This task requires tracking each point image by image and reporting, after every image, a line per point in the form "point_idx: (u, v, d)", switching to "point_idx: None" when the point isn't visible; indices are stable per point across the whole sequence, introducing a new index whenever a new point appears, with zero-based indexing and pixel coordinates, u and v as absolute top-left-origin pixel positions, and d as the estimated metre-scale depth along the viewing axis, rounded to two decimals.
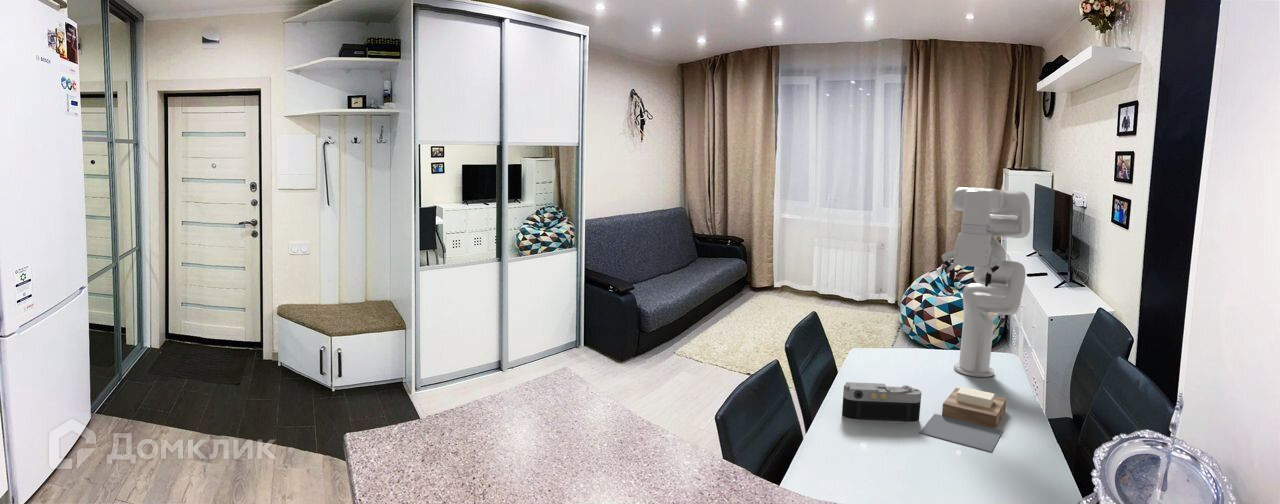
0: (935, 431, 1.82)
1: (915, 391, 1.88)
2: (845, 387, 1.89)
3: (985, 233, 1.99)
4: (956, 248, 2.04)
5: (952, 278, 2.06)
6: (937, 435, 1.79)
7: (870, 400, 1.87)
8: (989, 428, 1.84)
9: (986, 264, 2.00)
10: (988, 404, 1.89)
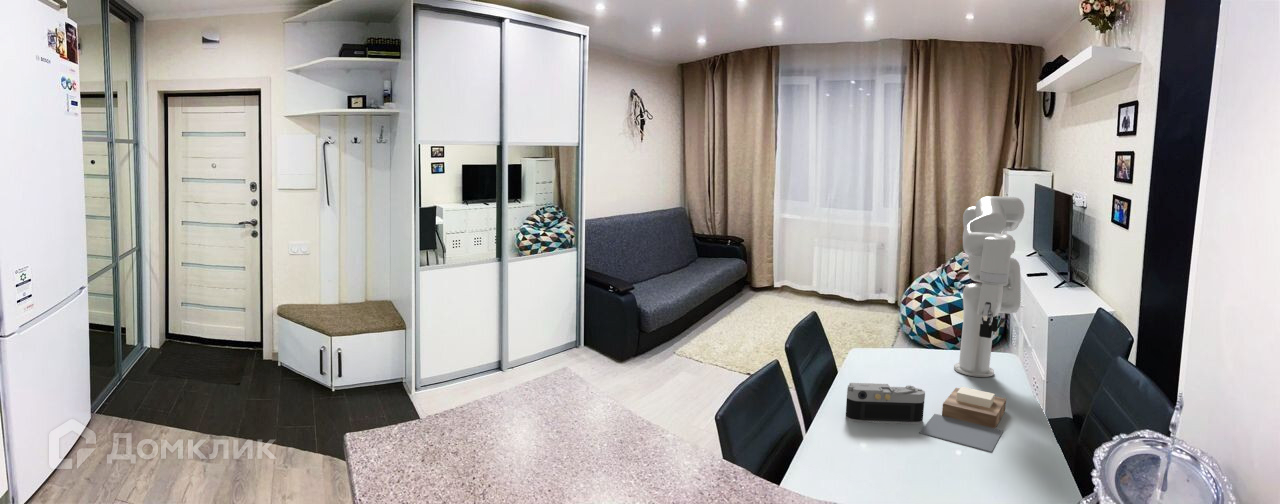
0: (935, 431, 1.82)
1: (919, 391, 1.88)
2: (849, 388, 1.89)
3: None
4: (996, 301, 1.93)
5: (991, 333, 1.95)
6: (937, 435, 1.79)
7: (874, 401, 1.87)
8: (989, 428, 1.84)
9: (1000, 308, 2.00)
10: (988, 404, 1.89)
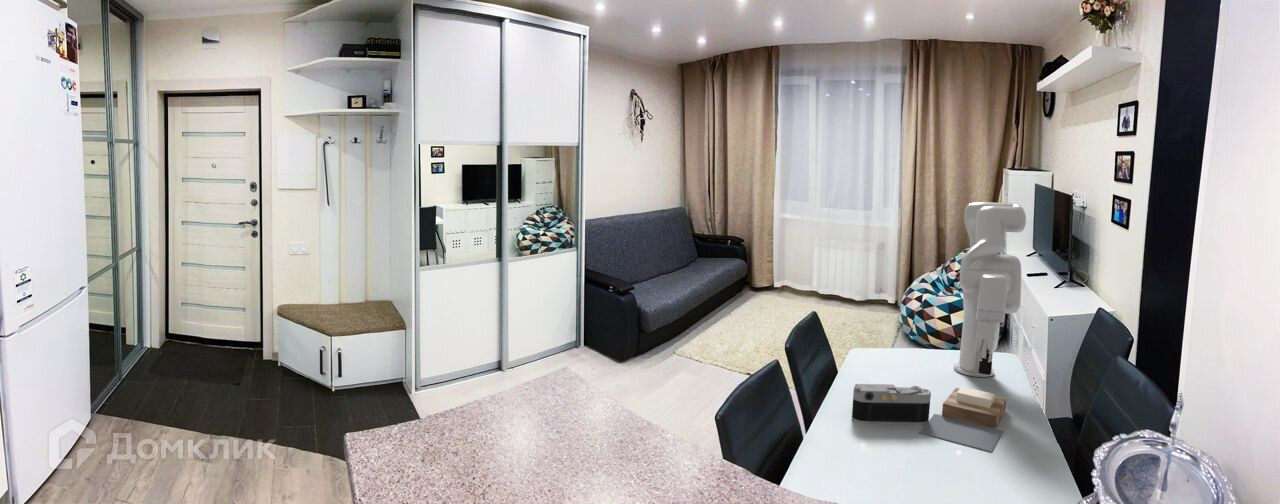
0: (935, 431, 1.82)
1: (924, 391, 1.88)
2: (855, 389, 1.88)
3: None
4: (993, 338, 1.94)
5: (990, 370, 1.99)
6: (937, 435, 1.79)
7: (881, 402, 1.86)
8: (989, 428, 1.84)
9: None
10: (988, 404, 1.89)
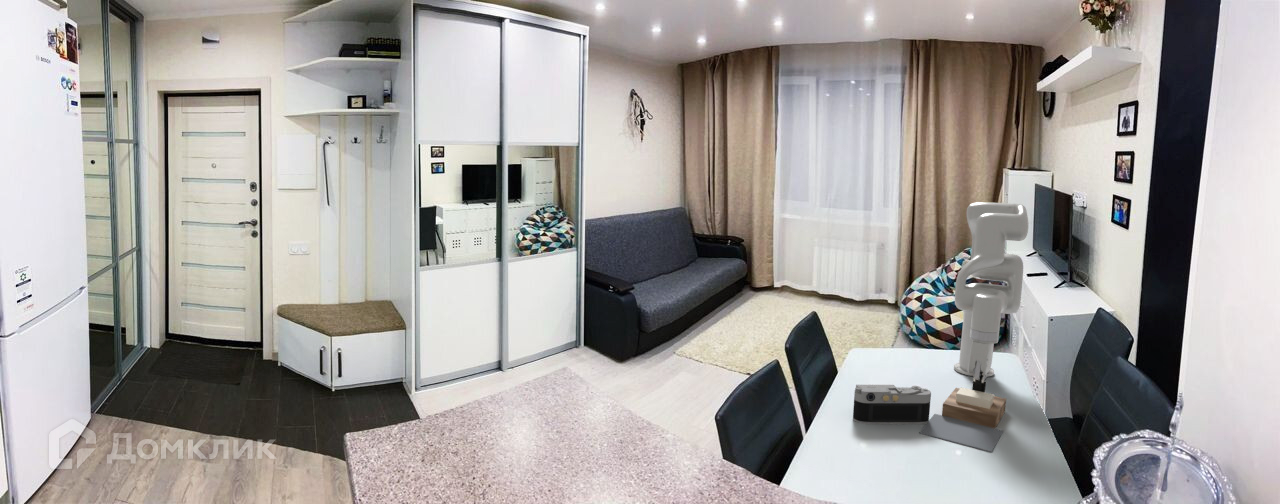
0: (935, 431, 1.82)
1: (925, 391, 1.88)
2: (857, 390, 1.87)
3: None
4: (986, 359, 1.90)
5: (984, 391, 1.95)
6: (937, 435, 1.79)
7: (882, 402, 1.86)
8: (989, 428, 1.84)
9: None
10: (988, 405, 1.88)
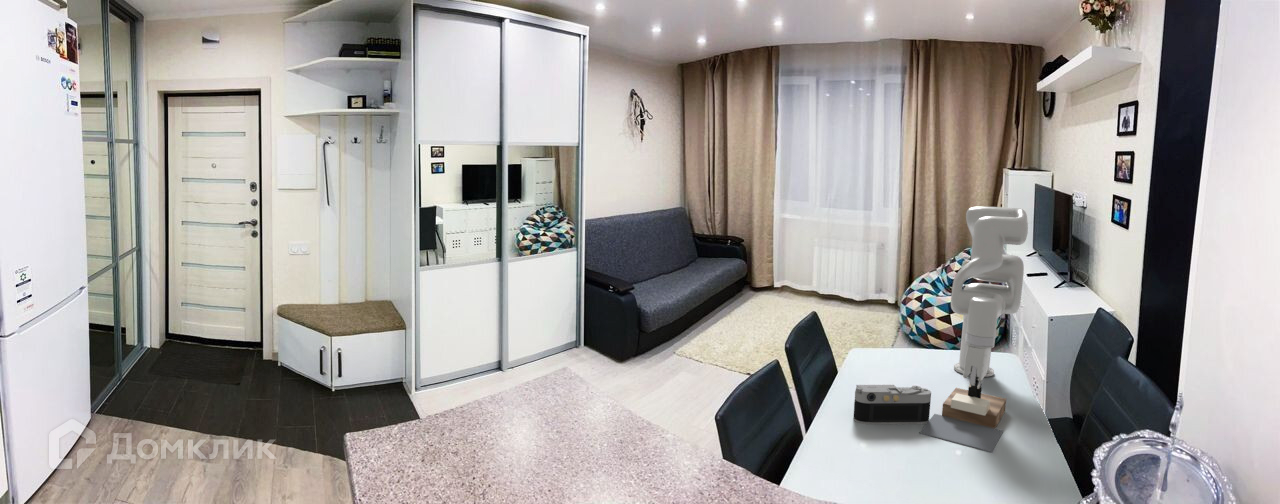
0: (935, 431, 1.82)
1: (925, 391, 1.88)
2: (857, 390, 1.87)
3: None
4: (982, 365, 1.85)
5: (979, 396, 1.90)
6: (937, 435, 1.79)
7: (883, 403, 1.86)
8: (989, 428, 1.84)
9: None
10: (983, 411, 1.83)
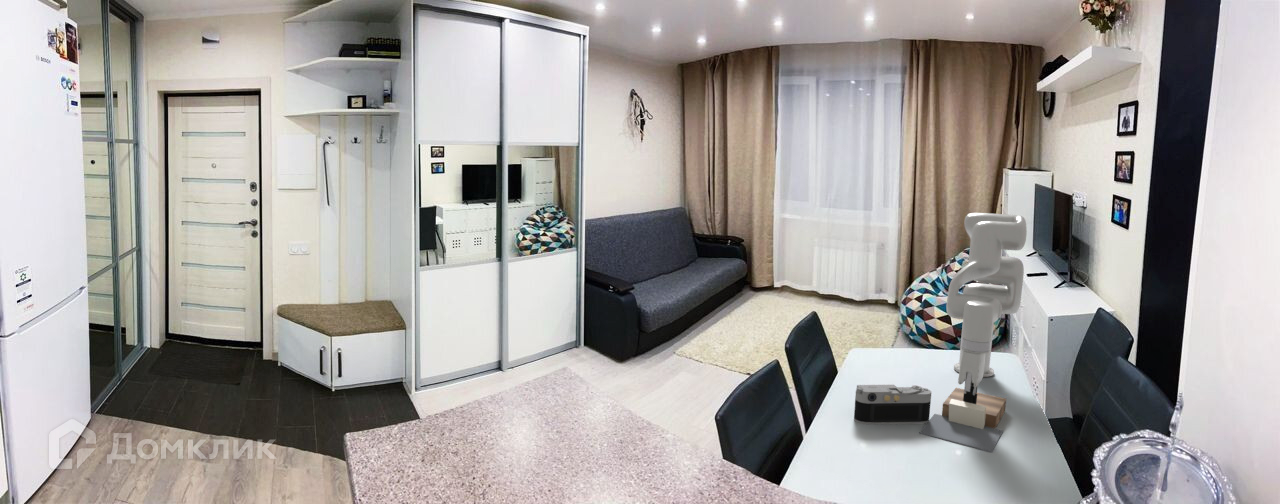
0: (935, 431, 1.82)
1: (925, 391, 1.88)
2: (858, 390, 1.87)
3: None
4: (977, 371, 1.81)
5: None
6: (937, 435, 1.79)
7: (883, 403, 1.86)
8: (989, 428, 1.84)
9: (982, 376, 1.88)
10: None
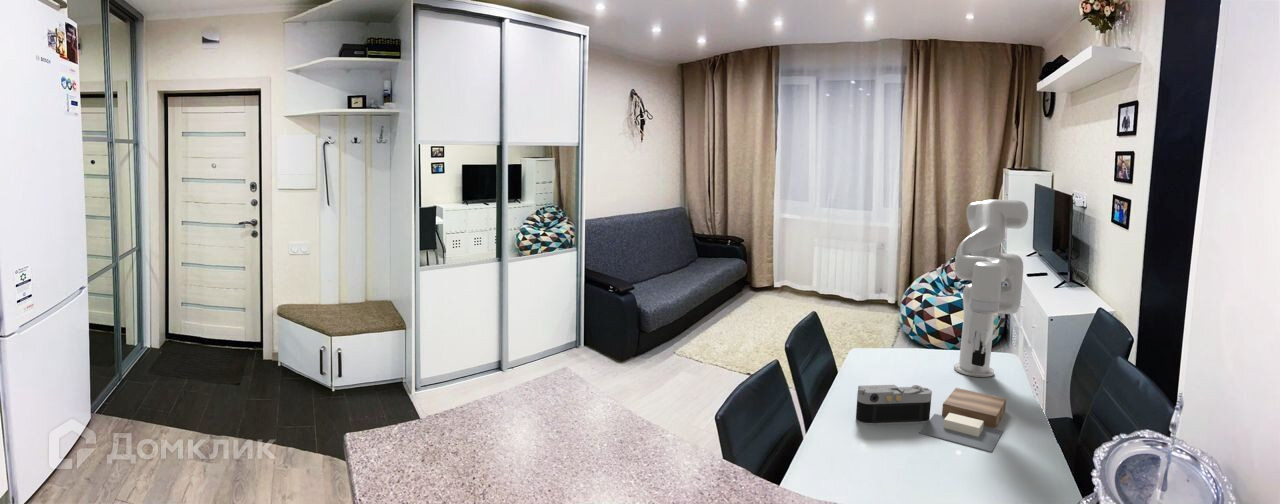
0: (935, 431, 1.82)
1: (925, 390, 1.89)
2: (860, 391, 1.86)
3: None
4: (986, 330, 1.85)
5: (984, 361, 1.90)
6: (937, 435, 1.79)
7: (885, 403, 1.86)
8: (989, 428, 1.84)
9: (991, 335, 1.92)
10: None
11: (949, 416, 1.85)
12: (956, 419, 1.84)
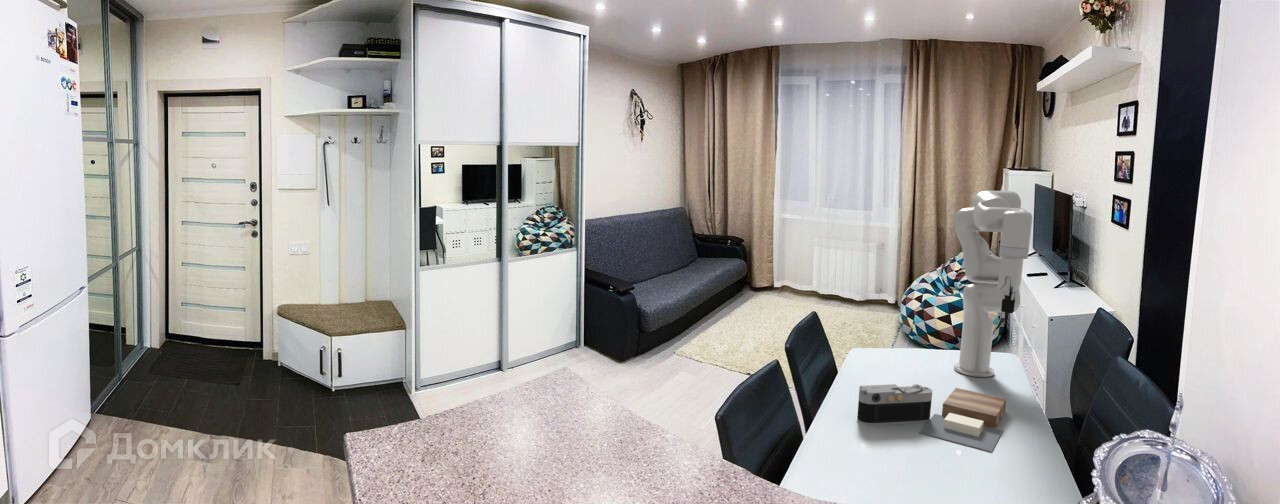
0: (935, 431, 1.82)
1: (926, 389, 1.89)
2: (862, 391, 1.86)
3: None
4: (1016, 275, 1.91)
5: None
6: (937, 435, 1.79)
7: (887, 403, 1.85)
8: (989, 428, 1.84)
9: None
10: None
11: (949, 416, 1.85)
12: (956, 419, 1.84)
